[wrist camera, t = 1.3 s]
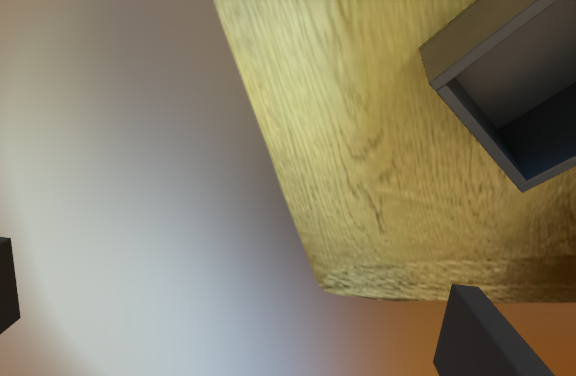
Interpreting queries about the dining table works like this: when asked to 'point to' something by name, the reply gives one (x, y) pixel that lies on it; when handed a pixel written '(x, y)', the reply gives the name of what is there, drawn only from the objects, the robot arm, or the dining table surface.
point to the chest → (512, 82)
